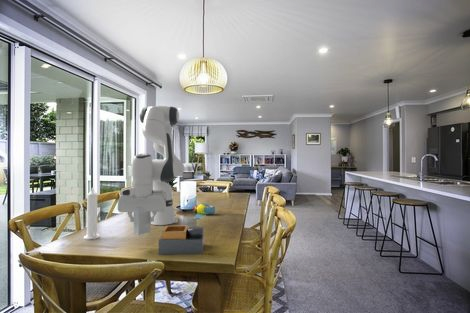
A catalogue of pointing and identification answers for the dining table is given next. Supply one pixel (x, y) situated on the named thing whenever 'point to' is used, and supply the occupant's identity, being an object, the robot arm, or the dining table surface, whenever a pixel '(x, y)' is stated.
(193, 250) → the grey and orange organizer
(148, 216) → the skincare box
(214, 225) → the dining table surface
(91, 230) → the candle
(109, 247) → the dining table surface
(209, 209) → the blue and yellow piece
